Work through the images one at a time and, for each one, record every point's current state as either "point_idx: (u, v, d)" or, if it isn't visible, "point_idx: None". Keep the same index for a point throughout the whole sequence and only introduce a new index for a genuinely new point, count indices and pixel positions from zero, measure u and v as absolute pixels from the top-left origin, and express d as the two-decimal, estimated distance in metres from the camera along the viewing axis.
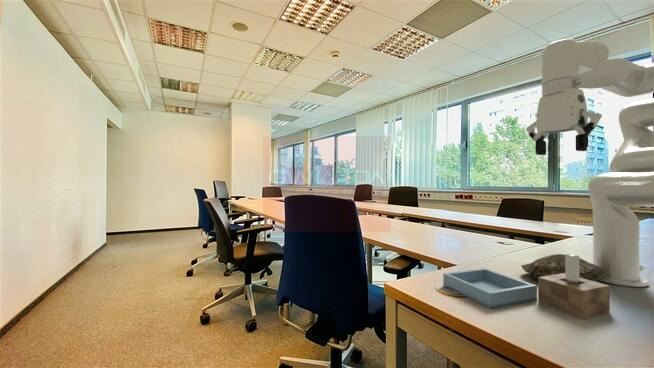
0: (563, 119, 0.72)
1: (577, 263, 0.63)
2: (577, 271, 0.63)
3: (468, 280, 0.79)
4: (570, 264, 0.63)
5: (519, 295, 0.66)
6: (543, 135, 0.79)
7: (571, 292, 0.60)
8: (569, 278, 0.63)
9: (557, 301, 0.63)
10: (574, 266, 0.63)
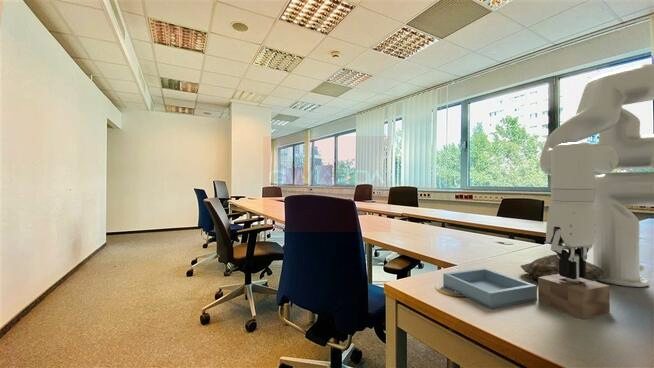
0: (590, 236, 0.63)
1: (577, 263, 0.63)
2: (577, 271, 0.63)
3: (468, 280, 0.79)
4: None
5: (519, 295, 0.66)
6: None
7: (571, 292, 0.60)
8: (569, 278, 0.63)
9: (557, 301, 0.63)
10: None
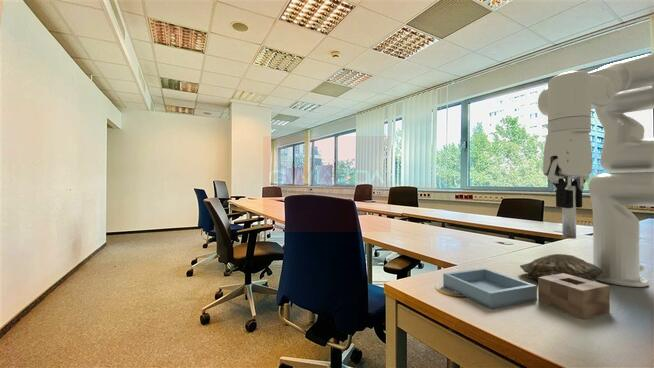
0: (586, 165, 0.63)
1: (574, 192, 0.63)
2: (574, 200, 0.63)
3: (468, 280, 0.79)
4: None
5: (519, 295, 0.66)
6: None
7: (571, 292, 0.60)
8: (566, 208, 0.64)
9: (557, 301, 0.63)
10: None
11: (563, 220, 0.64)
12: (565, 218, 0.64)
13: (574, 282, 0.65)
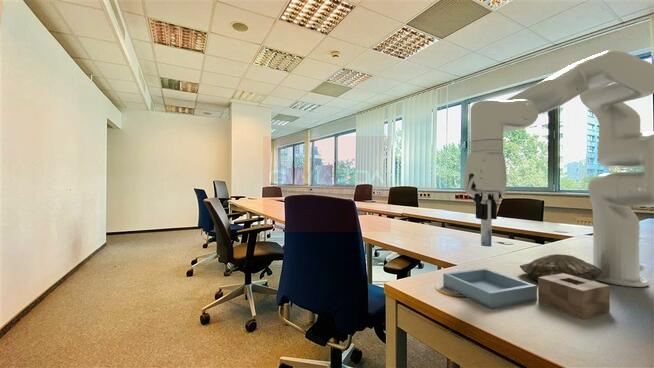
0: (500, 182, 0.71)
1: (489, 206, 0.72)
2: (489, 213, 0.72)
3: (468, 280, 0.79)
4: None
5: (519, 295, 0.66)
6: None
7: (571, 292, 0.60)
8: (483, 220, 0.72)
9: (557, 301, 0.63)
10: None
11: (481, 230, 0.73)
12: (482, 228, 0.72)
13: (574, 282, 0.65)
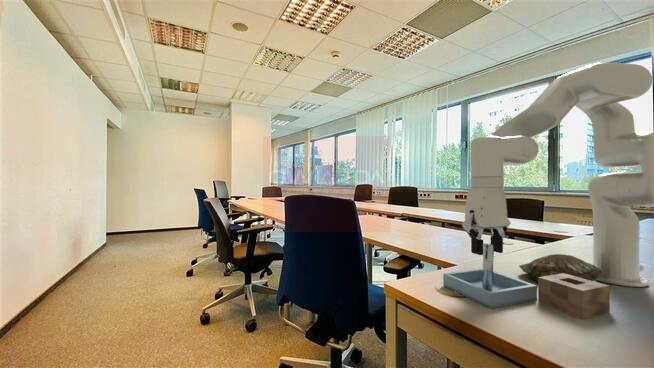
0: (501, 218, 0.71)
1: (491, 251, 0.72)
2: (491, 258, 0.72)
3: (468, 280, 0.79)
4: (486, 252, 0.72)
5: (519, 295, 0.66)
6: None
7: (571, 292, 0.60)
8: (485, 264, 0.72)
9: (557, 301, 0.63)
10: (489, 253, 0.72)
11: (483, 274, 0.73)
12: (484, 273, 0.72)
13: (574, 282, 0.65)
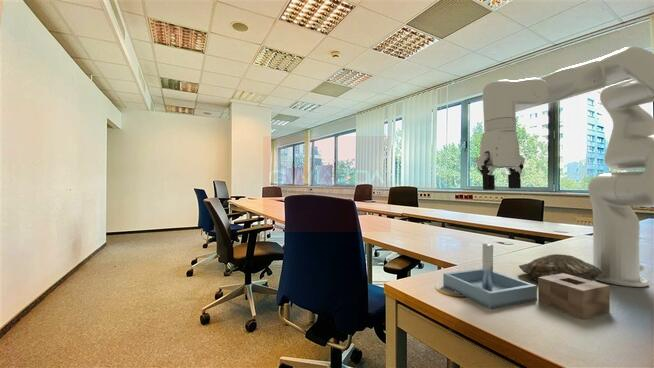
0: (514, 158, 0.76)
1: (491, 251, 0.72)
2: (490, 258, 0.72)
3: (468, 280, 0.79)
4: (485, 252, 0.72)
5: (519, 295, 0.66)
6: None
7: (571, 292, 0.60)
8: (484, 265, 0.72)
9: (557, 301, 0.63)
10: (488, 253, 0.72)
11: (482, 274, 0.73)
12: (483, 273, 0.72)
13: (574, 282, 0.65)
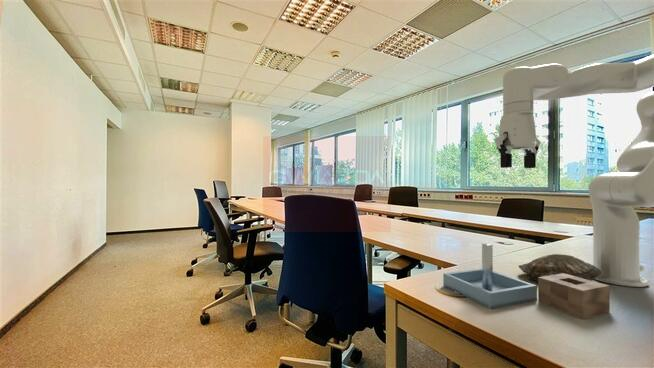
0: (530, 139, 0.82)
1: (490, 251, 0.72)
2: (490, 258, 0.72)
3: (468, 280, 0.79)
4: (485, 252, 0.72)
5: (519, 295, 0.66)
6: None
7: (571, 292, 0.60)
8: (484, 265, 0.72)
9: (557, 301, 0.63)
10: (487, 253, 0.72)
11: (482, 274, 0.73)
12: (483, 273, 0.72)
13: (574, 282, 0.65)
